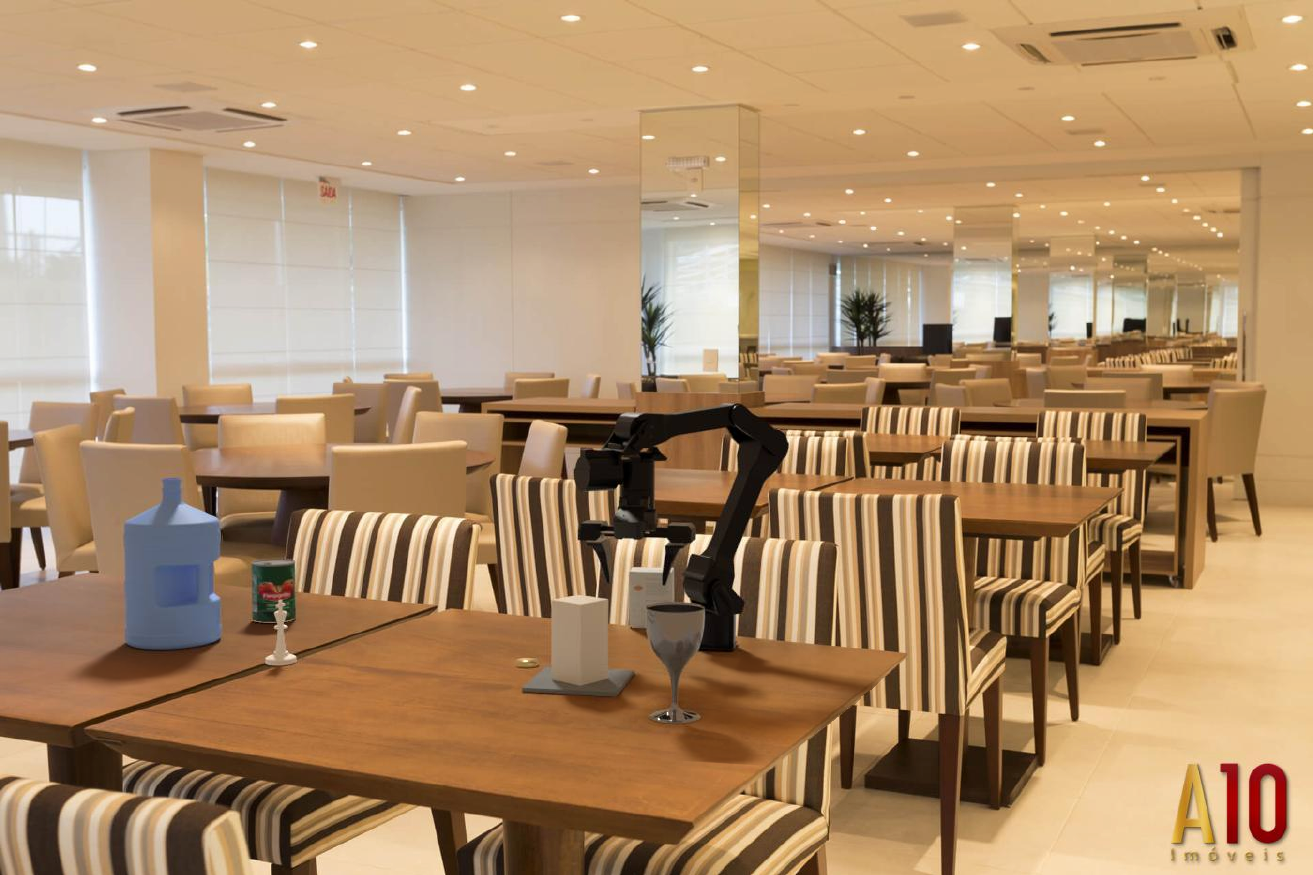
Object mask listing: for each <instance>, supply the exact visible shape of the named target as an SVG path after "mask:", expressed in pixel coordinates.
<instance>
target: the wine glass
mask: <svg viewBox="0 0 1313 875" xmlns="http://www.w3.org/2000/svg"><path fill="white" fill-rule="evenodd" d="M704 620H705V608H704V606H702V605H699V604H694V603H691V602H684V601H683V602H682V601H681V602H680V601H674V602H663V603H655V604H650V605H648V606H647V607H646V627H647V628H646V634H647V639H648V643H649V646H650V649H651V650H652V652H653V654H655V656H656V657H657V658H658V659H659V660H660V661H661V663H662V664H663V665H664V666H665V668H666V670H667V672H668V676H669V678H670V686H671V705H670V707H669V708H667V709H660V710H656V711H653V712H652V711H651V712H650V713H649V715H648V718H649V720H651V721H653V722H657V723H661V724H670V725H676V724H678V725H679V724H680V725H681V724H690V723H694V722H697V721H699V720H700V719H701V718H702V717H701V715H700V714H699V713H698V712H696V711H692V710H687V709H681V708H680V707H679V703H678V702H679V701H678V696H679V693H678V692H679V683H680V677H681V674H682V672H683V670H684V668H685V667H686V666H687V665H688V663H689V662H690V661H691V660H692V658H693V657H694V656H695V655H696V654H697V653H698V651H699V650H700V649H699V647H700V645H701V641H702V637H703V631H704Z"/></svg>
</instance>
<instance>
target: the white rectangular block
mask: <svg viewBox="0 0 1313 875" xmlns="http://www.w3.org/2000/svg"><path fill="white" fill-rule="evenodd" d="M550 619H551V621H550V623H551V626H550V627H551V632H550V633H551V644H550V645H551V646H550V648H551V651H550V652H551V659H550V661H551V679H553V680H557V681H562V682H566V683H571V684H575V685H580V686H581V685H585V684H589V683H592V682H596V681H600V680H604V679H607V678H608V669H609V599H608V598H602V597H596V596H589V595H584V594H583V595H582V594H575V595H570V596H566V597H560V598H555V599H551V618H550Z"/></svg>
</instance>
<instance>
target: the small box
mask: <svg viewBox="0 0 1313 875" xmlns="http://www.w3.org/2000/svg"><path fill="white" fill-rule="evenodd" d="M662 576H663V567H650V566H648V567H647V566H646V567H643V566H642V567H641V566H639V567H638V566H635V567H634V566H633V567H632V568H631V569H630V570H629V572H628V583H629V584H628V587H629V588H628V589H629V590H628V593H629V595H628V597H629V598H628V604H629V605H628V606H629V608H628V611H629V613H628V614H629V615H628V616H629V619H628V621H629V622H628V623H629V628H630V627H634V628H633V629H647V627H646V607H647V606H648V605H650V604H655V603H663V602H675V568H674V567H672V568H671V571H670V574H669V577H668V580H667V583H666V585H665V586H663V581H662Z"/></svg>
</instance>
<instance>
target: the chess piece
mask: <svg viewBox="0 0 1313 875" xmlns="http://www.w3.org/2000/svg"><path fill="white" fill-rule="evenodd" d="M283 606H285V603H282V600H278V604H277V605H276V608H279V610H278V611H276V612H274V615H275V618H276V621H277V624H276V625H274V627H273V629H274V630H277V634H276V642H275V643H276V644H275V649H274V651H273V652H272V653H273V654H271V655H268V656H266V657H265V661H264V664H266V665H269V666H287V665H292V664H295V663H297V661H298V660H297V656H296V655H294V654H292V653H289V651H288V650H287V646H286V639H285V630H286V629H288V625H286V624H285V623H284V622H285V618H286V615H287V612H286V611H283Z"/></svg>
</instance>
